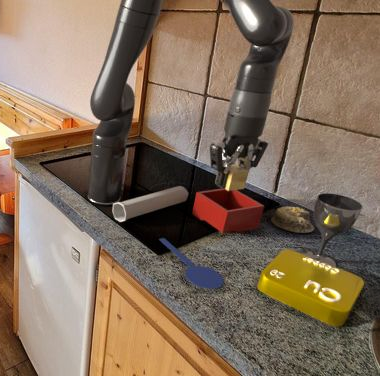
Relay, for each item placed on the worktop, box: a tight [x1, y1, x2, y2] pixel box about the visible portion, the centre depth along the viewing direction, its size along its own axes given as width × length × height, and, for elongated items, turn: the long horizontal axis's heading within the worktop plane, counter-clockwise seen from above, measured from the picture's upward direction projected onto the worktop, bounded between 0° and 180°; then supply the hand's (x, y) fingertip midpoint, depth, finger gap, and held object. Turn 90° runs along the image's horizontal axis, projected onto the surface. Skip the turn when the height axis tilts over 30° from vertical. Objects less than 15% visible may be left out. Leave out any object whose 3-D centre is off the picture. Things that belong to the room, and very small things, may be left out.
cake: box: [270, 206, 315, 234], centre depth 105 cm, size 10×10×5 cm
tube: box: [112, 185, 189, 223], centre depth 111 cm, size 5×5×25 cm
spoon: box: [158, 237, 224, 290], centre depth 89 cm, size 19×8×1 cm, turn 20°
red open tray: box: [191, 188, 265, 234], centre depth 106 cm, size 12×12×7 cm
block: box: [214, 163, 250, 191], centre depth 90 cm, size 4×4×4 cm
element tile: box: [256, 248, 365, 327], centre depth 80 cm, size 15×15×5 cm
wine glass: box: [300, 192, 363, 267], centre depth 89 cm, size 8×8×15 cm
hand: (229, 185), depth 91 cm, fingers closed on block, 4 cm apart
